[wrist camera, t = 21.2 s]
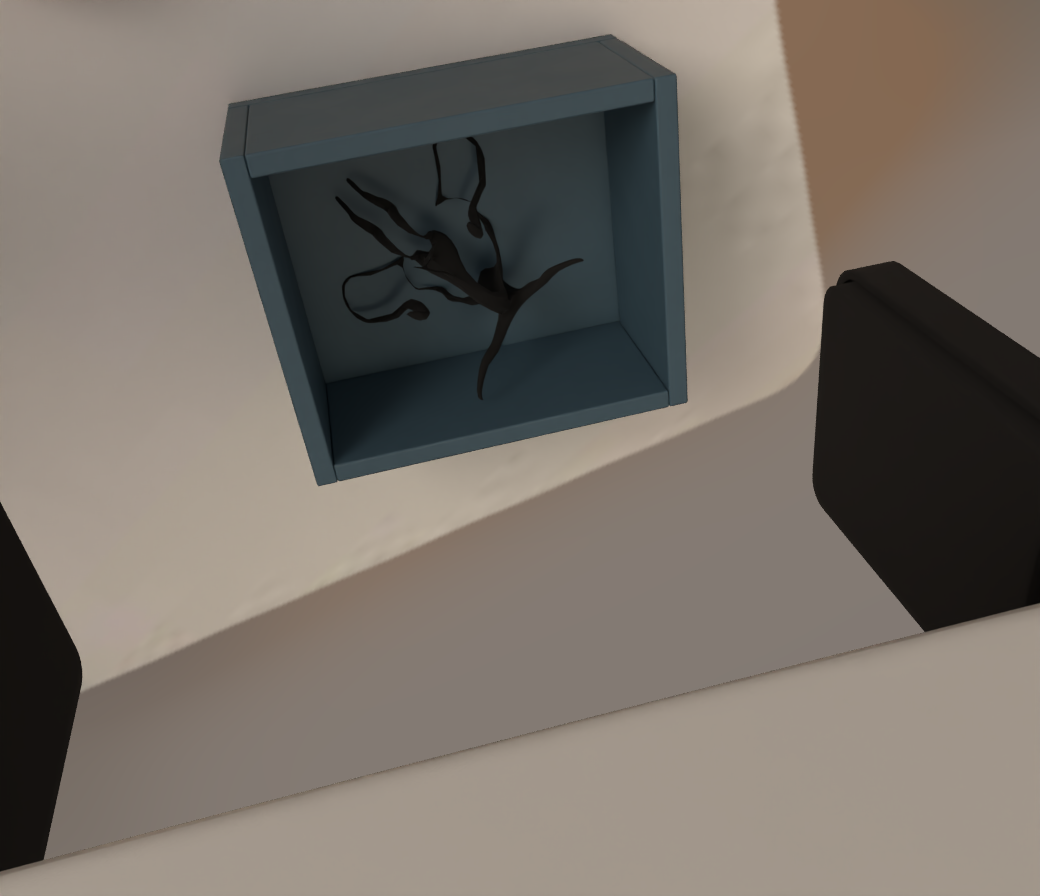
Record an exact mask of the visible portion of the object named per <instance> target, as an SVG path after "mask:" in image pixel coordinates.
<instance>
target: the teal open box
mask: <svg viewBox="0 0 1040 896" xmlns="http://www.w3.org/2000/svg"><path fill="white" fill-rule="evenodd" d="M467 137H473V138H474V139H475V140H476V141H477V142H478V144H479V146H480V147H481V149H482V152H483V155H484V157H485V171H486V187H485V188H484V190H483V192H482V194H481V197H480V200H479V202H478V204H477V207H476V208H477V211H478V212H479V213H480V214H481V215H482V216H484V217H485V218H487V219H488V220H489V222H490V223H491V225H492V228H493V230H494V234H495V237H496V240H497V244H498V247H499V250H500V256H501V261H502V268H503V280H504V281H505V282H506V283H507V284H509V285H510V286H512V287H514V288H517V289H520V288H522V287H523V286H525V285H526V284H527V283H529V282H531V281H534V280H536V279H539V278H540V277H541V275H542V274H543V273H544V272H545V271H546V270H547V269H548V268H550V267H553V266H555V265H557V264H559V263H562V262H565V261H568V260H571V259H575V258H581V259H583V260H584V261H583V262H579V263H576V264H573V265H571V266H568V267H566V268H564V269H562V270H560V271H559V272H558V273H556V274H555V275H554V276H553V277H552V278H551V279H550V280H549V282H548V283H547V284H545V285H544V286H543V287H542V288H540V289H539V290H538V291H537V292H535V293H534V294H533V295H532V296H531V297H530V298H528V299H527V300H526V301H525V303H524V304H523V305H522V306H521V307H520V309H519V310H518V311H517V313H516V315H515V316H514V318H513V320H512V322H511V324H510V326H509V328H508V330H507V333H506V335H505V338H504V340H503V342H502V345H501V347H500V350H499V352H498V353H497V354H496V356H495V357H494V359H493V360H492V361H491V363H490V364H489V366H488V369H487V372H486V375H485V378H484V383H483V388H482V398H483V400H480V399H479V398H478V394H477V381H478V373H479V368H480V364H481V360H482V358H483V356H484V354H485V353H486V351H487V349H488V348H489V346H490V345H491V343H492V340H493V337H494V333H495V329H496V325H497V321H498V315H499V314H498V313H496V312H494V311H491V310H489V309H488V308H486V307H484V306H482V305H480V304H478V305H468V304H465V303H461V302H452V301H450V300H448V299H447V298H446V297H445V296H444V295H443V294H442V293H440V292H437V291H435V290H417V289H415V288H414V287H416V288H425V287H433V286H438V287H443V288H445V289H446V290H447V291H448V292H449V293H450V294H452V295H453V296H457V297H461V298H465V297H469V295H467V294H466V293H465V292H463V291H462V290H461V289H459V288H458V287H456V286H455V285H453V284H451V283H450V282H448V281H446V280H444V279H442V278H440V277H438V276H436V275H434V274H432V273H430V272H428V271H427V270H424V269H419V268H414V267H422V266H421V265H420V264H419V263H418V262H416V261H415V260H411V259H410V258H406V257H404V262H403V268H404V270H403V268H402V267H400V266H398V265H395V266H393V267H390V268H388V269H386V270H383V271H381V272H378V273H376V274H373V275H371V276H356V277H353V278H350V279H349V281H348V282H347V283H346V285H345V298H346V300H347V302H348V304H349V307H350V309H351V310H353V311H354V312H355V313H357V314H359V315H361V316H363V317H364V318H366V319H372V318H376V317H380V316H384V315H388V314H392V313H393V312H394V311H395V310H397V309H398V308H399V307H400V306H401V305H402V304H403V303H404V302H406V301H408V300H410V299H414V300H417V301H420V302H422V303H423V304H424V305H425V306H426V307H427V308H428V309H429V311H430V314H429V317H428V318H427V319H426V320H421V321H419V320H415V319H413V318H411V317H410V316H408V315H407V313H408V312H411V311H412V310H410V309H407V310H406V311H405V312H404V313H403V314H402V315H401V316H400V317H399V318H396V319H393V320H391V321H388V322H378V323H366V322H363V321H361V320H359V319H357V318H356V317H355V316H354V315H353V314H352V313H351V312H350V311H349V310H348V308H347V306H346V305H345V302H344V299H343V294H342V285H343V282H344V281H345V280H346V278H348V277H350V276H352V275H356V274H360V273H365V272H370V271H375V270H380V269H383V268H384V267H386V266H388V265H390V264H391V263H393V262H395V261H397V260H398V259H399V258H400V257H402V256H400V255H397V254H394V253H391V252H390V251H389V250H388V249H386V248H385V247H384V246H383V245H382V244H380V243H379V242H378V241H377V240H376V239H375V238H374V236H373V235H371V234H370V233H368V232H366V231H365V230H364V229H362V228H361V227H360V226H358V225H357V224H355V223H354V222H353V221H352V220H351V219H350V217H349V215H348V213H347V212H346V211H345V210H344V209H343V208H342V206H341V205H340V204H339V203H338V202H337V201H336V199H335V197H336V196H338V197H339V198H340V199H341V200H342V201H343V202H344V203H345V204H346V205H347V206H348V207H349V208H350V209H351V210H352V211H353V213H354V214H356V215H357V216H358V217H361V218H363V219H365V220H367V221H369V222H371V223H373V224H374V225H376V226H378V227H379V228H380V229H381V230H382V231H383V233H384V234H385V236H386V237H387V238H388V239H389V240H390V241H391V242H392V243H393V244H394V245H395V246H396V247H397V248H398V249H399V250H400V251H402V252H403V253H404V254H405V255H408V256H412V255H413V254H414V253H415V251H416V250H422V251H427V252H429V251H430V249H431V248H432V245H431V242H430V240H429V239H425V238H422V237H419V236H416V235H413V234H410V233H408V232H407V231H405V230H404V229H402V228H400V227H399V226H397V224H396V223H395V222H394V221H393V220H392V219H391V218H390V216H389V214H388V213H387V212H386V211H385V210H384V209H382V208H380V207H377V206H376V205H374V204H372V203H371V202H369V201H368V200H366V199H365V198H363V197H362V196H361V195H360V194H359V193H358V192H357V191H355V190H354V189H353V188H352V187H351V186H350V185H349V184H348V183H347V181H346V179H347V178H349V179H351V180H352V181H353V182H354V183H355V184H356V185H357V186H358V187H359V188H360V189H361V190H362V191H365V192H368V193H370V194H373V195H375V196H377V197H381V198H384V199H387V200H388V201H390V202H392V203H393V204H394V205H395V206H396V207H397V209H398V211H399V213H400V215H401V216H402V217H403V218H404V219H405V221H406V222H407V223H408V224H409V225H410V226H411V227H412V228H413V229H414V230H415V231H416V232H417V233H418V234H420V235H422V236H424V235H425V234H427V232H428V231H432V230H436V231H439V232H442V233H444V234H446V235H447V236H448V237H449V238H450V239H451V240H452V242H453V243H454V245H455V247H456V248H457V250H458V253H459V256H460V259H461V261H462V263H463V265H464V267H465V269H466V271H467V272H468V273H469V274H470V275H471V276H472V278H473V279H474V280H475V281H476V282H477V283H478V278H479V275H480V272H481V271H482V270H484V269H485V268H491V267H494V266H495V264H496V262H497V260H496V252H495V249H494V246H493V243H492V241H491V239H490V237H489V236H488V234H487V232H486V231H485V227H484V225H483V223H482V222H481V221H480V222H481V225H482V229H483V234H484V235H483V237H482V238H481V239H479V238H476V237H474V236H473V235H471V233H470V232H469V231H468V229H467V226H466V225H467V223H468V222H470V220H469V217H468V210H469V205H470V202H469V201H471V200H472V198H473V195H474V193H475V191H476V188H477V186H478V183H479V175H478V165H477V155H476V146H475V145H473V144H472V143H471V142H470V141H468V140H467V139H466V138H467ZM435 143H437V146H436V149H437V153H438V157H439V162H440V168H441V188H442V196H444V197H446V198H453V199H449V200H445V201H444V202H442V203H441V204H439V205H437V206H435V204H436V200H437V195H438V182H439V179H438V173H437V168H436V162H435V157H434V152H433V148H432V147H433V144H435ZM219 162H220V165H221V169H222V172H223V175H224V179H225V182H226V185H227V189H228V192H229V195H230V198H231V202H232V205H233V208H234V212H235V215H236V218H237V222H238V225H239V228H240V231H241V235H242V238H243V241H244V245H245V248H246V251H247V255H248V258H249V261H250V264H251V268H252V271H253V274H254V278H255V281H256V284H257V288H258V291H259V294H260V297H261V301H262V304H263V307H264V311H265V314H266V317H267V321H268V324H269V327H270V330H271V334H272V337H273V340H274V344H275V347H276V350H277V354H278V357H279V360H280V363H281V367H282V370H283V373H284V377H285V380H286V383H287V387H288V390H289V393H290V396H291V400H292V403H293V406H294V410H295V413H296V416H297V420H298V423H299V426H300V429H301V433H302V436H303V439H304V443H305V446H306V449H307V453H308V456H309V459H310V462H311V466H312V469H313V472H314V476H315V479H316V482H317V485H318V486H322V485H326V484H331V483H335V482H337V480H338V481H343V480H347V479H351V478H356V477H360V476H365V475H369V474H374V473H378V472H382V471H387V470H391V469H396V468H400V467H405V466H409V465H413V464H418V463H422V462H427V461H431V460H435V459H440V458H444V457H449V456H453V455H458V454H462V453H466V452H471V451H475V450H480V449H484V448H489V447H493V446H497V445H502V444H506V443H511V442H515V441H519V440H524V439H528V438H533V437H537V436H542V435H546V434H550V433H555V432H559V431H564V430H568V429H572V428H577V427H581V426H586V425H590V424H595V423H599V422H603V421H608V420H612V419H617V418H621V417H626V416H630V415H634V414H639V413H643V412H648V411H652V410H656V409H661V408H665V407H668V406H669V405H670V406H674V405H679V404H683V403H686V402H687V401H688V398H687V369H686V340H685V310H684V281H683V251H682V222H681V193H680V163H679V134H678V104H677V76H676V74H675V73H673V72H672V71H670V70H668V69H667V68H665V67H663V66H662V65H660V64H658V63H657V62H655V61H653V60H652V59H650V58H648V57H647V56H645V55H643V54H642V53H640V52H639V51H637V50H635V49H634V48H632V47H630V46H629V45H627V44H625V43H624V42H622V41H620V40H619V39H617V38H616V37H614V36H613V35H611V34H610V35H605V36H599V37H594V38H588V39H583V40H577V41H572V42H566V43H561V44H555V45H550V46H544V47H539V48H533V49H528V50H522V51H517V52H511V53H506V54H500V55H495V56H489V57H484V58H478V59H473V60H467V61H462V62H456V63H451V64H445V65H440V66H434V67H429V68H423V69H418V70H412V71H407V72H401V73H396V74H390V75H385V76H379V77H374V78H369V79H363V80H358V81H352V82H347V83H341V84H336V85H330V86H325V87H319V88H314V89H308V90H303V91H297V92H292V93H286V94H281V95H275V96H270V97H264V98H259V99H253V100H248V101H242V102H237V103H231V104H229V105H228V111H227V117H226V123H225V129H224V135H223V141H222V148H221V154H220V160H219ZM458 198H463V199H466V200H468V201H465V200H462V199H458ZM404 272H405V273H404ZM405 275H406V276H405ZM406 277H407V278H408V279H409V280H410V282H411V283H412V284H413V286H414V287H413V286H412V285H411V284H410V283H409V282H408V280H407V278H406Z"/></svg>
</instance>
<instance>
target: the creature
mask: <svg viewBox="0 0 1040 896" xmlns="http://www.w3.org/2000/svg"><path fill="white" fill-rule="evenodd" d="M466 139H467V140H468V141H470V142H471V143H472V144H473V145H475V146H476V155H477V165H478V175H479V183H478V186H477V188H476V191H475V193H474V195H473V198H472V200H471V201H469V202H470V205H469V210H468V217H469V220H470V222H468V223H467V225H466V226H467V229H468V231H469V232H470V233H471V235H473V236H474V237H476V238H479V239H481V238H482V237H483V235H484V234H483V229H482V225H481V222H482V223H483V225H484V227H485V231H486V232H487V234H488V236H489V237H490V239H491V241H492V243H493V246H494V249H495V252H496V260H497V262H496V264H495V266H494V267H491V268H485V269H484V270H482V271H481V272H480V275H479V278H478V283H477V282H476V281H475V280H474V279H473V278H472V276H471V275H470V274H469V273H468V272H467V271H466V269H465V267H464V265H463V263H462V261H461V259H460V256H459V253H458V250H457V248H456V247H455V245H454V243H453V242H452V240H451V239H450V238H449V237H448V236H447V235H446V234H444V233H442V232H439V231H436V230H432V231H428V232H427V234H425V235H424V236H422V235H420V234H418V233H417V232H416V231H415V230H414V229H413V228H412V227H411V226H410V225H409V224H408V223H407V222H406V221H405V219H404V218H403V217H402V216H401V215H400V213H399V211H398V209H397V207H396V206H395V205H394V204H393V203H392V202H390V201H388V200H387V199H384V198H381V197H377V196H375V195H373V194H370V193H368V192H365V191H362V190H361V189H360V188H359V187H358V186H357V185H356V184H355V183H354V182H353V181H352V180H351V179H349V178H347V179H346V181H347V183H348V184H349V185H350V186H351V187H352V188H353V189H354V190H355V191H357V192H358V193H359V194H360V195H361V196H362V197H363V198H365V199H366V200H368V201H369V202H371V203H372V204H374V205H376V206H377V207H380V208H382V209H384V210H385V211H386V212H387V213H388V214H389V216H390V218H391V219H392V220H393V221H394V222H395V223H396V224H397V226H399V227H400V228H402V229H404V230H405V231H407V232H408V233H410V234H413V235H416V236H419V237H422V238H425V239H429V240H430V242H431V245H432V248H431V249H430V251H429V252H427V251H422V250H416V251H415V253H414V254H413V255H412V256H408V255H405V254H404V253H403V252H402V251H400V250H399V249H398V248H397V247H396V246H395V245H394V244H393V243H392V242H391V241H390V240H389V239H388V238H387V237H386V236H385V234H384V233H383V231H382V230H381V229H380V228H379V227H378V226H376V225H374V224H373V223H371V222H369V221H367V220H365V219H363V218H361V217H358V216H357V215H356V214H354V213H353V211H352V210H351V209H350V208H349V207H348V206H347V205H346V204H345V203H344V202H343V201H342V200H341V199H340V198H339V197H338V196H336V197H335V199H336V201H337V202H338V203H339V204H340V205H341V206H342V208H343V209H344V210H345V211H346V212H347V213H348V215H349V217H350V219H351V220H352V221H353V222H354V223H355V224H357V225H358V226H360V227H361V228H362V229H364V230H365V231H366V232H368V233H370V234H371V235H373V236H374V238H375V239H376V240H377V241H378V242H379V243H380V244H382V245H383V246H384V247H385V248H386V249H388V250H389V251H390V252H391V253H394V254H397V255H400V256H402V257H400V258H399V259H398V260H397V261H395V262H393V263H391V264H390V265H388V266H386V267H384V268H383V269H380V270H375V271H370V272H365V273H360V274H356V275H352V276H350V277H348V278H346V280H345V281H344V282H343V285H342V294H343V299H344V302H345V305H346V306H347V308H348V310H349V311H350V312H351V313H352V314H353V315H354V316H355V317H356V318H357V319H359V320H361V321H363V322H366V323H378V322H388V321H391V320H393V319H396V318H399V317H400V316H401V315H402V314H403V313H404V312H405V311H406V310H407V309H410V310H412V311H411V312H408V313H407V315H408V316H410V317H411V318H413V319H415V320H419V321H421V320H426V319H427V318H428V317H429V314H430V311H429V309H428V308H427V307H426V306H425V305H424V304H423V303H422V302H420V301H417V300H414V299H410V300H408V301H406V302H404V303H403V304H402V305H401V306H400V307H399V308H398V309H397V310H395V311H394V312H393V313H392V314H388V315H384V316H380V317H376V318H372V319H366V318H364V317H363V316H361V315H359V314H357V313H355V312H354V311H353V310H351V309H350V307H349V304H348V302H347V300H346V298H345V285H346V283H347V282H348V281H349V279H350V278H353V277H356V276H371V275H373V274H376V273H378V272H381V271H383V270H386V269H388V268H390V267H393V266H395V265H398V266H400V267H402V268H403V262H404V257H406V258H410V259H411V260H415V261H416V262H418V263H419V264H420V265H421V266H422V267H414V268H419V269H424V270H427V271H428V272H430V273H432V274H434V275H436V276H438V277H440V278H442V279H444V280H446V281H448V282H450V283H451V284H453V285H455V286H456V287H458V288H459V289H461V290H462V291H463V292H465V293H466V294H467V295H469V297H465V298H461V297H457V296H453V295H452V294H450V293H449V292H448V291H447V290H446V289H445V288H443V287H438V286H433V287H425V288H416V287H414V286H413V284H412V283H411V282H410V280H409V279H408V278H407V277H406V278H407V280H408V282H409V283H410V284H411V285H412V286H413V287H414V288H415V289H417V290H435V291H437V292H440V293H442V294H443V295H444V296H445V297H446V298H447V299H448V300H450V301H452V302H461V303H465V304H468V305H478V304H480V305H482V306H484V307H486V308H488V309H489V310H491V311H494V312H496V313H498V314H499V315H498V321H497V325H496V329H495V333H494V337H493V340H492V343H491V345H490V346H489V348H488V349H487V351H486V353H485V354H484V356H483V358H482V360H481V364H480V368H479V373H478V381H477V394H478V398H479V399H480V400H483V398H482V388H483V383H484V378H485V375H486V372H487V369H488V366H489V364H490V363H491V361H492V360H493V359H494V357H495V356H496V354H497V353H498V352H499V350H500V347H501V345H502V342H503V340H504V338H505V335H506V333H507V330H508V328H509V326H510V324H511V322H512V320H513V318H514V316H515V315H516V313H517V311H518V310H519V309H520V307H521V306H522V305H523V304H524V303H525V301H526V300H527V299H528V298H530V297H531V296H532V295H533V294H534V293H535V292H537V291H538V290H539V289H540V288H542V287H543V286H544V285H545V284H547V283H548V282H549V280H550V279H551V278H552V277H553V276H554V275H555V274H556V273H558V272H559V271H560V270H562V269H564V268H566V267H568V266H571V265H573V264H576V263H579V262H583V261H584V260H583V259H581V258H575V259H571V260H568V261H565V262H562V263H559V264H557V265H555V266H553V267H550V268H548V269H547V270H546V271H545V272H544V273H543V274H542V275H541V277H540V278H539V279H536V280H534V281H531V282H529V283H527V284H526V285H525V286H523V287H522V288H520V289H517V288H514V287H512V286H510V285H509V284H507V283H506V282H505V281H504V280H503V268H502V261H501V256H500V250H499V247H498V244H497V240H496V237H495V234H494V230H493V228H492V225H491V223H490V222H489V220H488V219H487V218H485V217H484V216H482V215H481V214H480V213H479V212H478V211H477V208H476V207H477V204H478V202H479V200H480V197H481V194H482V192H483V190H484V188H485V187H486V171H485V157H484V155H483V152H482V149H481V147H480V146H479V144H478V142H477V141H476V140H475V139H474V138H473V137H467V138H466ZM436 146H437V143H435V144H433V147H432V148H433V152H434V157H435V162H436V168H437V173H438V179H439V182H438V195H437V200H436V204H435V206H437V205H439V204H441V203H442V202H444V201H445V200H449V199H453V198H446V197H444V196H442V188H441V168H440V162H439V157H438V153H437V149H436ZM458 199H462V200H465V201H468V200H466V199H463V198H458ZM480 221H481V222H480ZM403 270H404V268H403ZM404 273H405V272H404ZM405 276H406V275H405Z"/></svg>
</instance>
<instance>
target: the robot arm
mask: <svg viewBox="0 0 1040 896" xmlns="http://www.w3.org/2000/svg"><path fill="white" fill-rule="evenodd" d="M813 487H814V491H815V494H816V497H817V499H818V502H819V504H820V505H821V507H822V508H823V509H824V511H825V512H826V513H827V514H828V515H829V517H830V518H831V519H832V520H833V521H834V523H835V524H836V525H837V526H838V527H839V529H840V530H841V531H842V532H843V533H844V535H845V536H846V537H847V538H848V540H849V541H850V542H851V543H852V544H853V546H854V547H855V548H856V549H857V550H858V552H859V553H860V554H861V555H862V556H863V558H864V559H865V560H866V561H867V563H868V564H869V565H870V566H871V567H872V569H873V570H874V571H875V572H876V573H877V575H878V576H879V577H880V578H881V579H882V581H883V582H884V583H885V584H886V586H887V587H888V588H889V589H890V590H891V592H892V593H893V594H894V595H895V596H896V597H897V599H898V600H899V601H900V602H901V604H902V605H903V606H904V607H905V609H906V610H907V611H908V612H909V613H910V615H911V616H912V617H913V618H914V619H915V621H916V622H917V623H918V624H919V625H920V627H921V628H922V629H923V630H924V632H923V633H920V634H916V635H912V636H908V637H904V638H900V639H896V640H892V641H888V642H884V643H880V644H876V645H872V646H868V647H864V648H860V649H856V650H852V651H848V652H844V653H840V654H836V655H832V656H829V657H825V658H820V659H816V660H813V661H809V662H805V663H801V664H797V665H793V666H789V667H785V668H781V669H778V670H773V671H770V672H766V673H762V674H758V675H754V676H750V677H746V678H742V679H738V680H734V681H730V682H726V683H723V684H718V685H715V686H711V687H707V688H703V689H699V690H695V691H691V692H687V693H683V694H680V695H676V696H672V697H668V698H664V699H660V700H656V701H652V702H648V703H645V704H641V705H637V706H633V707H629V708H625V709H621V710H617V711H613V712H609V713H606V714H602V715H598V716H594V717H590V718H586V719H583V720H578V721H575V722H571V723H567V724H563V725H559V726H555V727H551V728H547V729H543V730H540V731H536V732H532V733H528V734H525V735H520V736H517V737H513V738H509V739H505V740H501V741H497V742H493V743H490V744H485V745H482V746H478V747H474V748H470V749H466V750H462V751H458V752H455V753H451V754H447V755H443V756H439V757H435V758H432V759H428V760H424V761H420V762H416V763H413V764H409V765H405V766H400V767H397V768H393V769H389V770H386V771H381V772H377V773H374V774H370V775H366V776H362V777H358V778H354V779H351V780H347V781H343V782H339V783H335V784H331V785H328V786H324V787H320V788H317V789H313V790H309V791H305V792H301V793H297V794H294V795H290V796H286V797H282V798H278V799H274V800H270V801H266V802H263V803H259V804H255V805H251V806H247V807H244V808H240V809H236V810H232V811H229V812H225V813H221V814H217V815H213V816H209V817H206V818H202V819H198V820H194V821H191V822H187V823H183V824H179V825H175V826H171V827H168V828H164V829H160V830H156V831H153V832H149V833H145V834H141V835H137V836H134V837H130V838H126V839H122V840H118V841H115V842H111V843H107V844H103V845H99V846H96V847H92V848H88V849H84V850H81V851H77V852H73V853H69V854H65V855H61V856H58V857H54V858H50V859H46V860H44V855H45V851H46V846H47V842H48V837H49V832H50V828H51V823H52V818H53V814H54V809H55V805H56V800H57V795H58V791H59V786H60V781H61V777H62V772H63V768H64V763H65V759H66V754H67V749H68V745H69V740H70V736H71V730H72V726H73V722H74V717H75V712H76V708H77V703H78V699H79V694H80V690H81V685H82V666H81V660H80V657H79V653H78V651H77V649H76V646H75V645H74V643H73V641H72V639H71V637H70V635H69V633H68V631H67V629H66V627H65V625H64V623H63V621H62V620H61V618H60V616H59V614H58V612H57V610H56V608H55V606H54V604H53V602H52V600H51V598H50V597H49V595H48V593H47V591H46V589H45V587H44V585H43V583H42V581H41V579H40V577H39V575H38V573H37V572H36V570H35V568H34V566H33V564H32V562H31V560H30V558H29V556H28V554H27V552H26V550H25V549H24V547H23V545H22V543H21V541H20V539H19V537H18V535H17V533H16V531H15V529H14V527H13V525H12V524H11V522H10V520H9V518H8V516H7V514H6V512H5V510H4V508H3V506H2V504H1V502H0V896H1040V358H1039V357H1037V356H1036V355H1034V354H1033V353H1031V352H1030V351H1028V350H1027V349H1026V348H1024V347H1022V346H1021V345H1020V344H1018V343H1017V342H1015V341H1014V340H1012V339H1011V338H1009V337H1008V336H1006V335H1005V334H1003V333H1002V332H1000V331H999V330H997V329H996V328H994V327H993V326H992V325H990V324H989V323H987V322H986V321H984V320H983V319H981V318H980V317H978V316H976V315H975V314H974V313H972V312H971V311H969V310H968V309H966V308H965V307H963V306H962V305H960V304H959V303H957V302H956V301H955V300H953V299H951V298H950V297H949V296H947V295H946V294H944V293H943V292H941V291H940V290H938V289H936V288H935V287H934V286H932V285H931V284H929V283H928V282H926V281H925V280H923V279H922V278H921V277H919V276H918V275H916V274H915V273H913V272H912V271H910V270H909V269H907V268H906V267H904V266H903V265H901V264H900V263H897V262H895V261H891V262H886V263H881V264H876V265H871V266H866V267H861V268H857V269H852V270H847V271H844V272H843V273H842V274H841V275H840V277H839V279H838V282H837V285H836V286H831V287H830V288H829V289H828V290H827V291H826V294H825V298H824V306H823V321H822V337H821V352H820V368H819V383H818V398H817V415H816V429H815V445H814V460H813Z"/></svg>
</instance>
